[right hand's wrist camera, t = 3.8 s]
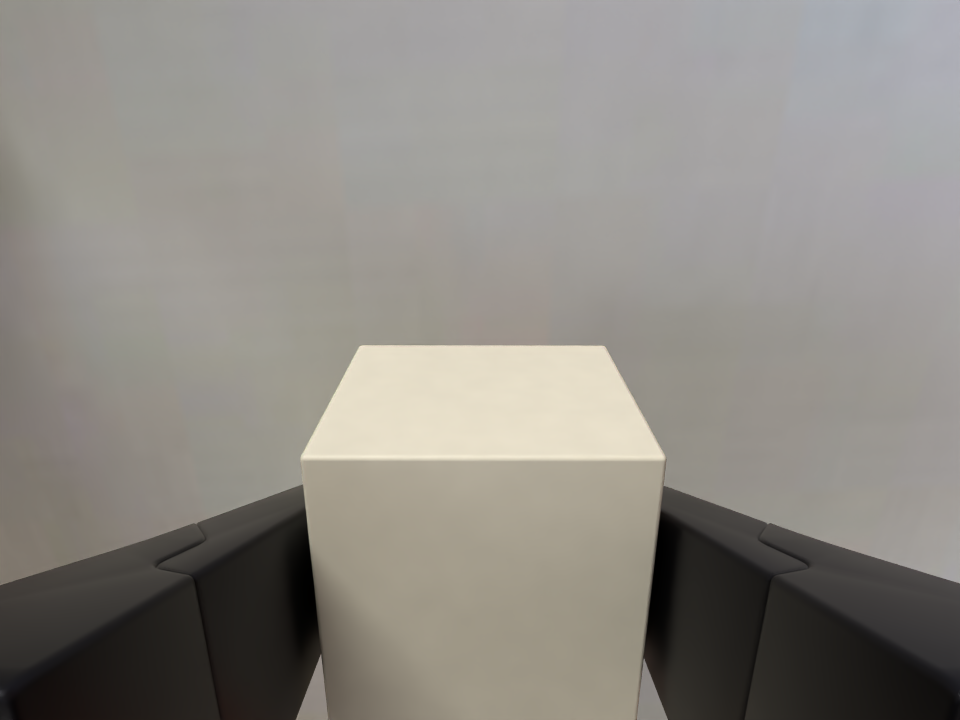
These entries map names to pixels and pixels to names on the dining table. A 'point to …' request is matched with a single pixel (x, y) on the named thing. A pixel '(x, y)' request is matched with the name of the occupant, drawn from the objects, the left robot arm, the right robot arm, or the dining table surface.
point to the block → (482, 534)
